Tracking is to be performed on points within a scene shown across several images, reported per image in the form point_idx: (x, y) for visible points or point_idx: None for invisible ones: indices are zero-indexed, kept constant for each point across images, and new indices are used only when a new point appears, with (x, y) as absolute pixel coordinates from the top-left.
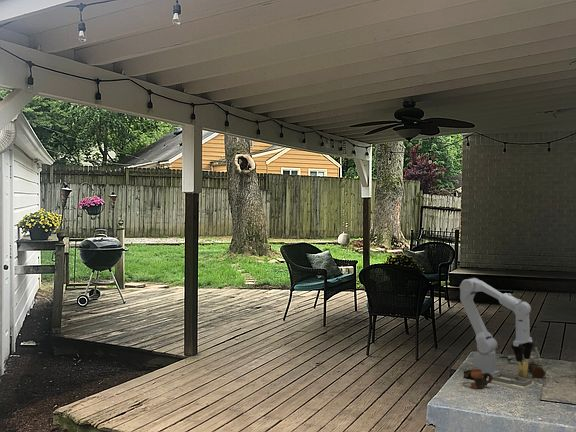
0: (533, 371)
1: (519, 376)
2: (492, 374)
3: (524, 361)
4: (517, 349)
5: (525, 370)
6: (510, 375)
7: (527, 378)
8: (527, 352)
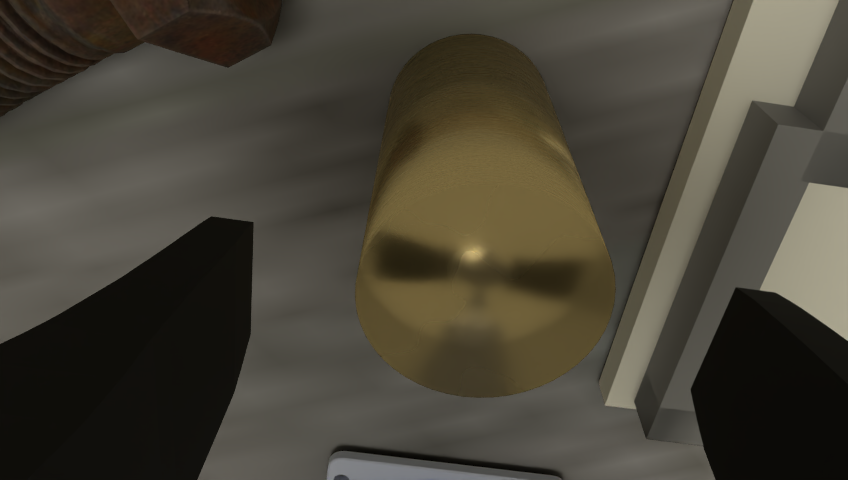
0: (257, 8)
1: (779, 145)
2: (542, 477)
3: (546, 252)
4: None
5: (551, 125)
6: (761, 283)
7: (492, 43)
8: (183, 390)
